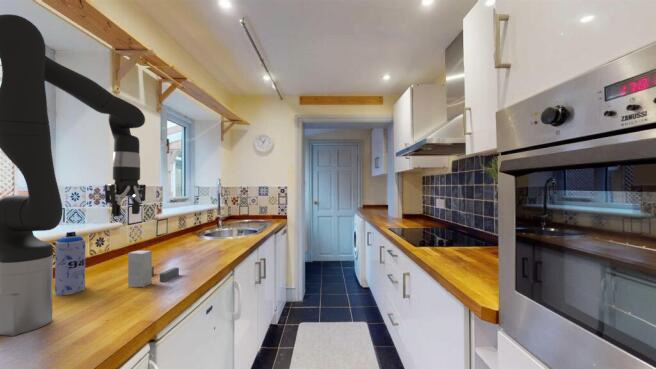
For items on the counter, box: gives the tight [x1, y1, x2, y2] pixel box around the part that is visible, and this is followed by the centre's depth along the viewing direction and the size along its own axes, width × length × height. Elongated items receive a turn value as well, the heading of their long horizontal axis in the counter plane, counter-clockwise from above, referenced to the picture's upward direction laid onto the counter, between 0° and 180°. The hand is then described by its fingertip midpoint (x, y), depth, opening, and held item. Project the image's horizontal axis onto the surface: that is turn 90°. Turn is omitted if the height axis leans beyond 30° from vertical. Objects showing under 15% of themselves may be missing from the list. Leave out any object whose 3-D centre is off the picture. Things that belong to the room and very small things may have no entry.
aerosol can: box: [53, 231, 87, 296], centre depth 93 cm, size 8×8×20 cm
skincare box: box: [127, 250, 153, 288], centre depth 98 cm, size 6×4×12 cm
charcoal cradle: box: [152, 266, 180, 283], centre depth 106 cm, size 8×13×3 cm, turn 83°
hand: (126, 214), depth 93 cm, fingers open, 7 cm apart
